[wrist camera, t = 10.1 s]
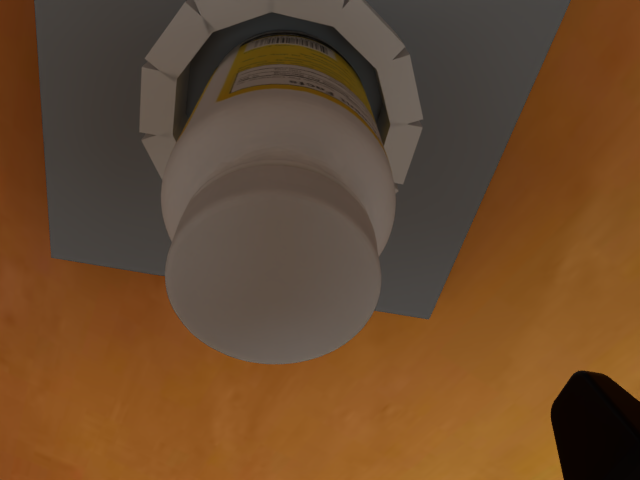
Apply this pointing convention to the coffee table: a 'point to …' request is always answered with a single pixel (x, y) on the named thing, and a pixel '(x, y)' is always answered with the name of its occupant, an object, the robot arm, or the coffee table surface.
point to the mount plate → (204, 57)
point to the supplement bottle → (278, 204)
